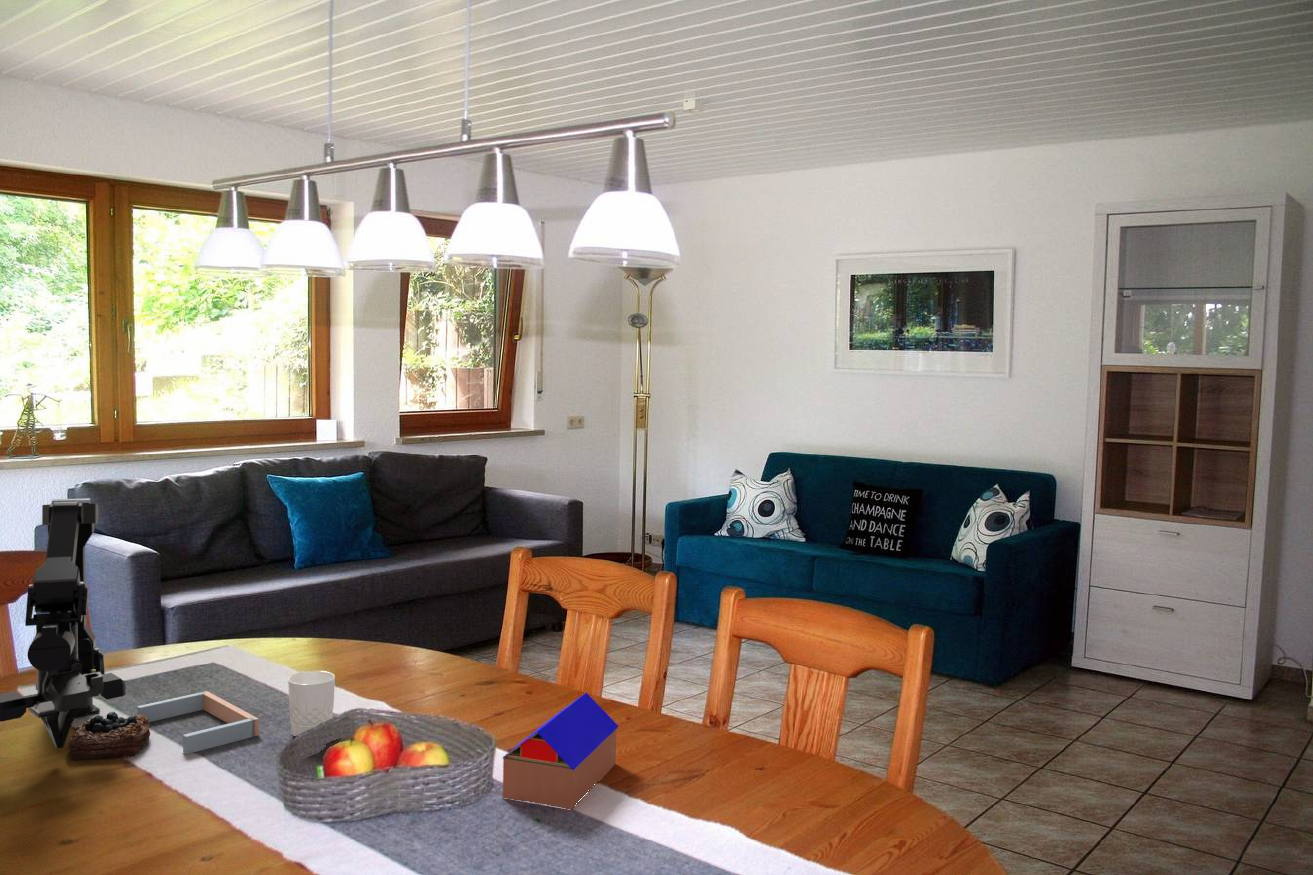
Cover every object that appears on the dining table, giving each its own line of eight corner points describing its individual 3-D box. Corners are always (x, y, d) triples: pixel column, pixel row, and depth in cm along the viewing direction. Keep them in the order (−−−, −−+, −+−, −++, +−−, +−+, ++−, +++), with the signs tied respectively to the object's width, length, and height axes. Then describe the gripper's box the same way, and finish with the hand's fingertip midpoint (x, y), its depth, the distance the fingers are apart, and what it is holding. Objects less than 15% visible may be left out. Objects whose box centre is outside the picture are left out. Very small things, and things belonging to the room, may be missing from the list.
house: (499, 800, 158) (501, 726, 157) (552, 754, 177) (553, 687, 176) (572, 813, 155) (574, 737, 154) (617, 764, 174) (619, 696, 173)
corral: (137, 722, 186) (137, 706, 185) (206, 706, 195) (206, 690, 195) (186, 754, 172) (186, 736, 172) (258, 735, 181) (258, 718, 181)
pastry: (140, 759, 170) (139, 724, 170) (59, 764, 167) (58, 728, 167) (155, 735, 181) (155, 702, 180) (80, 739, 178) (79, 706, 177)
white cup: (320, 742, 179) (320, 686, 178) (279, 737, 180) (279, 682, 180) (342, 726, 187) (343, 672, 186) (303, 722, 188) (303, 668, 187)
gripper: (6, 677, 153) (8, 778, 155) (138, 653, 167) (139, 746, 168) (-16, 660, 161) (-14, 757, 162) (112, 638, 175) (113, 728, 176)
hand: (59, 747), depth 167 cm, fingers closed
